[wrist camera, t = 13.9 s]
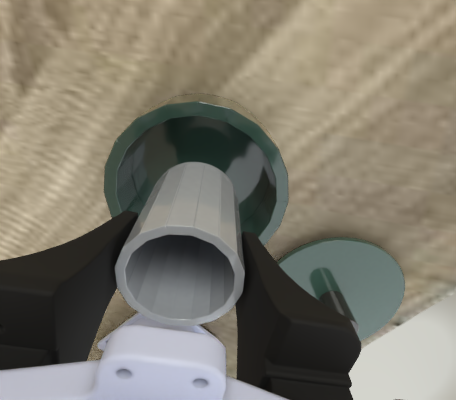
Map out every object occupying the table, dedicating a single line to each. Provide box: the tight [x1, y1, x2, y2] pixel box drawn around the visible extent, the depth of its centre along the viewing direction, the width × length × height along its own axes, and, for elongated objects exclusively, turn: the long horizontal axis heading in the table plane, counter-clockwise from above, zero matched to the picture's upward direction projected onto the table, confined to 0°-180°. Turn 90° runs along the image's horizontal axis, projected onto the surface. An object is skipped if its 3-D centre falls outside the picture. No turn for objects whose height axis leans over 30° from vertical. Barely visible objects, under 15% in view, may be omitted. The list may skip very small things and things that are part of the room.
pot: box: [104, 94, 288, 245], centre depth 21 cm, size 12×12×4 cm
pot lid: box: [277, 237, 405, 341], centre depth 26 cm, size 13×13×4 cm
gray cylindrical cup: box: [115, 162, 245, 326], centre depth 15 cm, size 5×5×7 cm
